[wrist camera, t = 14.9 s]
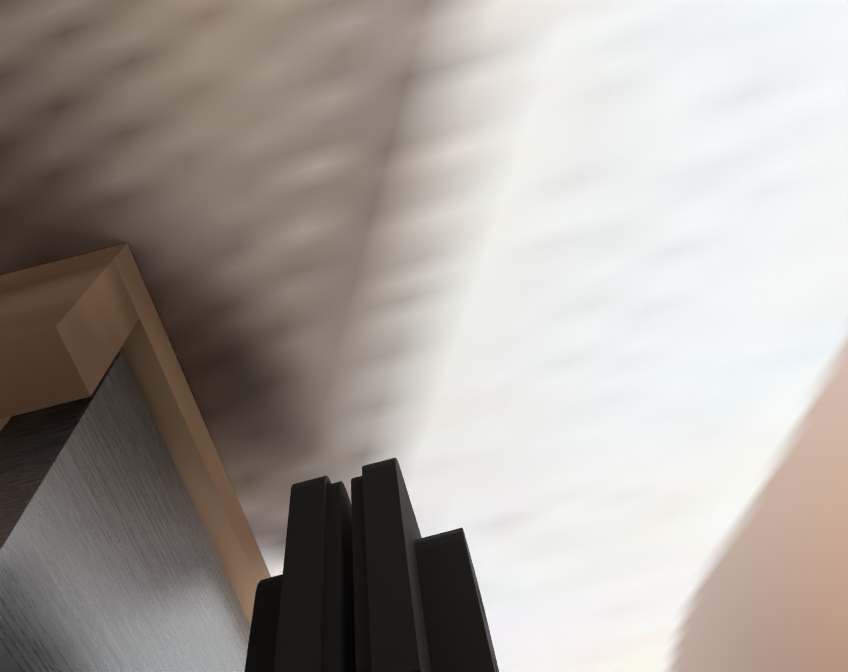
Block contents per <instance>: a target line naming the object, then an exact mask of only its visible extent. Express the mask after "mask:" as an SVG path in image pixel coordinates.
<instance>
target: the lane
mask: <svg viewBox="0 0 848 672" xmlns="http://www.w3.org/2000/svg"><path fill="white" fill-rule="evenodd" d="M121 350H123V352H124V354H125V357H126V359H127V361H128V363H129V365H130V367H131V370H132V372H133V374H134V376H135V378H136V380H137V382H138V385H139V387H140V389H141V391H142V393H143V395H144V398H145V400H146V402H147V404H148V406H149V408H150V410H151V413H152V415H153V417H154V419H155V421H156V423H157V426H158V428H159V430H160V432H161V434H162V436H163V438H164V441H165V443H166V445H167V447H168V449H169V451H170V454H171V456H172V458H173V460H174V462H175V464H176V466H177V469H178V471H179V473H180V475H181V477H182V479H183V481H184V484H185V486H186V488H187V490H188V492H189V494H190V497H191V499H192V501H193V503H194V505H195V507H196V509H197V512H198V514H199V516H200V518H201V520H202V522H203V525H204V527H205V529H206V531H207V533H208V535H209V537H210V540H211V542H212V544H213V546H214V548H215V550H216V553H217V555H218V557H219V559H220V561H221V563H222V565H223V568H224V570H225V572H226V574H227V576H228V578H229V581H230V583H231V585H232V587H233V589H234V591H235V593H236V596H237V598H238V600H239V602H240V604H241V606H242V609H243V611H244V613H245V615H246V617H247V619H248V621H249V624H250V626H251V621H252V614H253V607H254V600H255V593H256V589H257V585H258V583H259V582H260V580H263V579H267V578H271V576H270V574H269V571H268V569H267V567H266V564H265V562H264V560H263V557H262V555H261V553H260V550H259V548H258V546H257V543H256V541H255V539H254V537H253V534H252V532H251V530H250V527H249V525H248V523H247V520H246V518H245V516H244V513H243V511H242V509H241V506H240V504H239V502H238V499H237V497H236V495H235V492H234V490H233V488H232V485H231V483H230V481H229V478H228V476H227V474H226V471H225V469H224V467H223V464H222V462H221V460H220V457H219V455H218V453H217V450H216V448H215V446H214V443H213V441H212V439H211V436H210V434H209V432H208V429H207V427H206V425H205V423H204V420H203V418H202V416H201V413H200V411H199V409H198V406H197V404H196V402H195V399H194V397H193V395H192V392H191V390H190V388H189V385H188V383H187V381H186V378H185V376H184V374H183V371H182V369H181V367H180V364H179V362H178V360H177V357H176V355H175V353H174V350H173V348H172V346H171V343H170V341H169V339H168V336H167V334H166V332H165V329H164V327H163V325H162V322H161V320H160V318H159V315H158V313H157V311H156V308H155V306H154V304H153V302H152V299H151V297H150V295H149V292H148V290H147V288H146V285H145V283H144V281H143V278H142V276H141V274H140V271H139V269H138V267H137V264H136V262H135V260H134V257H133V255H132V253H131V250H130V248H129V246H128V243H125V244H121V245H117V246H113V247H109V248H105V249H101V250H97V251H94V252H90V253H86V254H82V255H78V256H74V257H70V258H66V259H62V260H58V261H54V262H51V263H47V264H43V265H39V266H35V267H31V268H27V269H23V270H19V271H15V272H11V273H7V274H4V275H0V431H1V430H2V429H3V427H4V426H5V425H6V423H7V422H8V421H9V419H10V418H11V417H12V416H15V415H19V414H23V413H27V412H31V411H35V410H39V409H43V408H47V407H51V406H55V405H58V404H62V403H66V402H70V401H74V400H78V399H82V398H86V397H90V396H91V395H92V393H93V392H94V390H95V389H96V387H97V385H98V384H99V382H100V381H101V379H102V377H103V376H104V374H105V372H106V371H107V369H108V368H109V366H110V364H111V363H112V361H113V359H114V358H115V356H116V355H117V353H118V351H121Z"/></svg>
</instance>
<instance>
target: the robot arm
mask: <svg viewBox="0 0 848 672" xmlns="http://www.w3.org/2000/svg"><path fill="white" fill-rule="evenodd" d="M351 498H352V505H351V502H350V500H349V497H348V494H347V491H346V488H345V486H344V484H343V482H342V481H340V482H337V483H333V484H331V481H330V479H329V478H328V477H327V476H323V477H319V478H315V479H312V480H308V481H304V482H300V483H296V484H293V485H292V488H291V496H290V506H289V516H288V527H287V537H286V547H285V558H284V568H283V574H282V575H278V576H274V577H271V578H267V579H263V580H260V582H259V583H258V585H257V589H256V593H255V600H254V607H253V614H252V621H251V628H250V636H249V643H248V650H247V657H246V664H245V671H244V672H499V669H498V665H497V661H496V657H495V652H494V648H493V644H492V640H491V635H490V631H489V627H488V623H487V619H486V614H485V610H484V606H483V602H482V598H481V594H480V590H479V586H478V582H477V579H476V575H475V571H474V567H473V563H472V560H471V556H470V553H469V549H468V545H467V542H466V538H465V534H464V531H463V528H459V529H455V530H452V531H448V532H444V533H440V534H436V535H432V536H429V537H425V538H421V534H420V531H419V528H418V525H417V521H416V518H415V515H414V512H413V508H412V505H411V502H410V499H409V495H408V492H407V489H406V486H405V482H404V479H403V476H402V473H401V469H400V466H399V463H398V461H397V459H396V458H392V459H388V460H385V461H381V462H377V463H373V464H369V465H365V466H363V467H362V476H360V477H356V478H352V479H351Z"/></svg>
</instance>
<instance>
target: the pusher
mask: <svg viewBox="0 0 848 672" xmlns="http://www.w3.org/2000/svg"><path fill="white" fill-rule="evenodd" d="M250 628H251V626H250V624H249V621H248V619H247V617H246V615H245V613H244V611H243V609H242V606H241V604H240V602H239V600H238V598H237V596H236V593H235V591H234V589H233V587H232V585H231V583H230V581H229V578H228V576H227V574H226V572H225V570H224V568H223V565H222V563H221V561H220V559H219V557H218V555H217V553H216V550H215V548H214V546H213V544H212V542H211V540H210V537H209V535H208V533H207V531H206V529H205V527H204V525H203V522H202V520H201V518H200V516H199V514H198V512H197V509H196V507H195V505H194V503H193V501H192V499H191V497H190V494H189V492H188V490H187V488H186V486H185V484H184V481H183V479H182V477H181V475H180V473H179V471H178V469H177V466H176V464H175V462H174V460H173V458H172V456H171V454H170V451H169V449H168V447H167V445H166V443H165V441H164V438H163V436H162V434H161V432H160V430H159V428H158V426H157V423H156V421H155V419H154V417H153V415H152V413H151V410H150V408H149V406H148V404H147V402H146V400H145V398H144V395H143V393H142V391H141V389H140V387H139V385H138V382H137V380H136V378H135V376H134V374H133V372H132V370H131V367H130V365H129V363H128V361H127V359H126V357H125V354H124V352H123V350H121V351H118V353H117V355H116V356H115V358H114V359H113V361H112V363H111V364H110V366H109V368H108V369H107V371H106V372H105V374H104V376H103V377H102V379H101V381H100V382H99V384H98V385H97V387H96V389H95V390H94V392H93V393H92V395H91V396H90V397H86V398H82V399H78V400H74V401H70V402H66V403H62V404H58V405H55V406H51V407H47V408H43V409H39V410H35V411H31V412H27V413H23V414H19V415H15V416H12V417H11V418H10V419H9V421H8V422H7V423H6V425H5V426H4V427H3V429H2V430H1V431H0V672H244V671H245V664H246V657H247V650H248V643H249V636H250Z"/></svg>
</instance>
